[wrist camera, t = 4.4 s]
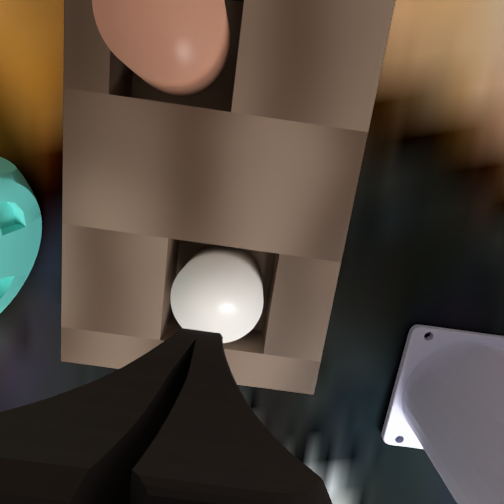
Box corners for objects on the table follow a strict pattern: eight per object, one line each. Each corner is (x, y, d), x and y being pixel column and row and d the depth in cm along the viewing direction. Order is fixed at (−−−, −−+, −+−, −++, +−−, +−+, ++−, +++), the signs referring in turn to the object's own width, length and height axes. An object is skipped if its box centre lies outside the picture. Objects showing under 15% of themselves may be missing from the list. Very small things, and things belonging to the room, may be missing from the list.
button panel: (384, -44, 15) (415, -97, 12) (305, 362, 20) (313, 394, 17) (103, -87, 15) (65, -152, 12) (90, 333, 20) (61, 361, 17)
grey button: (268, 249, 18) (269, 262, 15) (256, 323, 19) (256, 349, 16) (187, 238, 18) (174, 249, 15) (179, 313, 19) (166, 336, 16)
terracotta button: (236, -14, 13) (231, -64, 10) (223, 102, 14) (215, 84, 11) (127, -31, 13) (93, -86, 10) (122, 88, 14) (90, 66, 11)
